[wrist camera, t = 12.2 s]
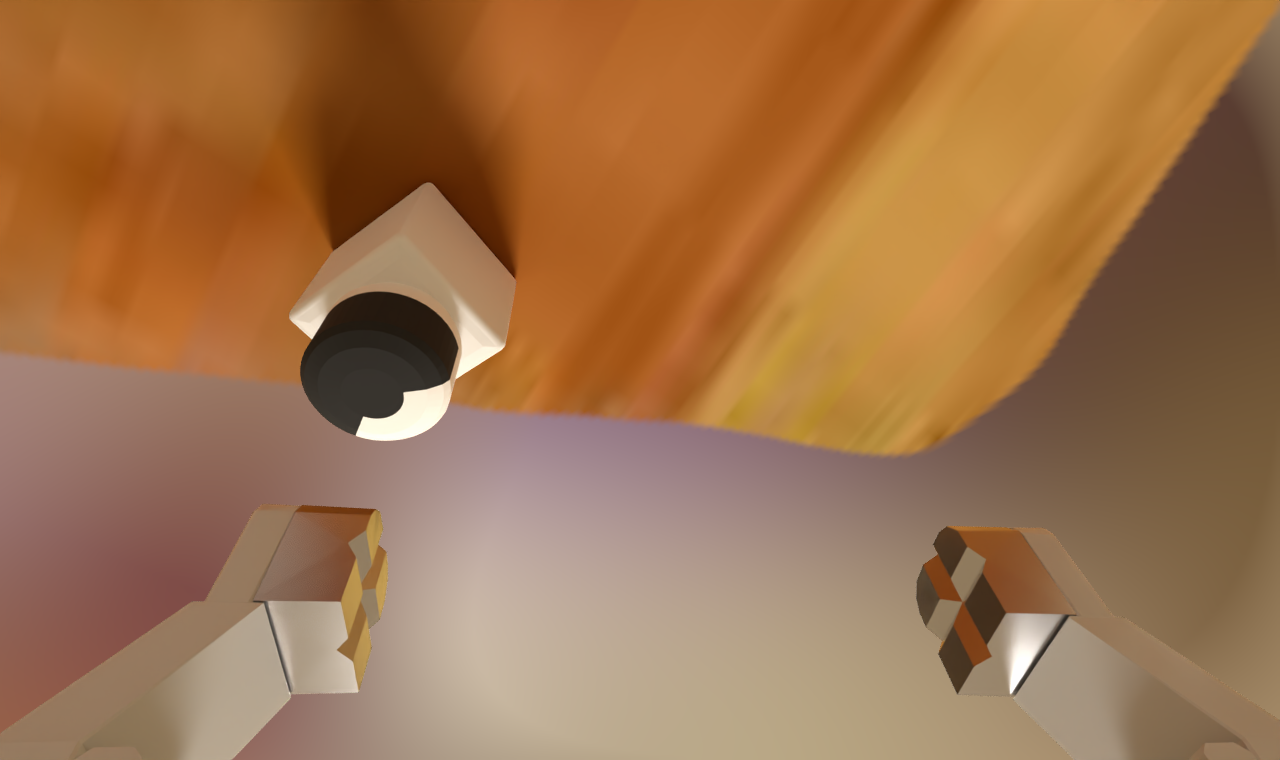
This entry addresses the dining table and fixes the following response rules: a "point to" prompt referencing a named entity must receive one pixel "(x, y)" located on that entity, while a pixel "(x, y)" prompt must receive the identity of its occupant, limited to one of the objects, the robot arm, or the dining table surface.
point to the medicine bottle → (401, 318)
